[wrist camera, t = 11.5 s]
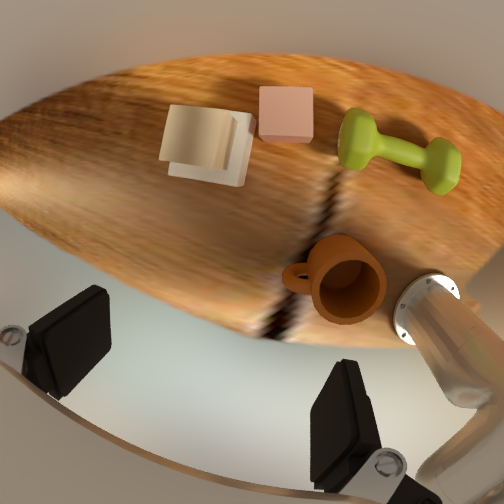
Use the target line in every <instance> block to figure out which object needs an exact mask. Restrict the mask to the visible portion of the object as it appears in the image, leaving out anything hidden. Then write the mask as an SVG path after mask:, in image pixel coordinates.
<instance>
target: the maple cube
mask: <svg viewBox="0 0 504 504" xmlns="http://www.w3.org/2000/svg"><path fill="white" fill-rule="evenodd" d="M237 124H238V121H237V120H236V119H235V118H234V117H233V116H232V115H231V114H230V113H229V112H228V111H227V110H223V109H215V108H206V107H196V106H184V105H170V109H169V113H168V117H167V121H166V126H165V130H164V135H163V140H162V144H161V149H160V155H159V160H162V161H169V162H176V163H182V164H188V165H194V166H200V167H206V168H211V169H220V170H227V169H228V164H229V159H230V155H231V150H232V146H233V141H234V137H235V132H236V128H237Z"/></svg>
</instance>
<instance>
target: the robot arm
mask: <svg viewBox="0 0 504 504" xmlns="http://www.w3.org/2000/svg"><path fill="white" fill-rule="evenodd" d="M109 301H110V299H109V294H108V293H107V291H106V289H104V288H102V287H100V286H97V285H92V286H90V287H89V288H87V289H85V290H84V291H82V292H80V293H79V294H77V295H76V296H74V297H73V298H71V299H69V300H68V301H66V302H65V303H63V304H62V305H60V306H59V307H57V308H55V309H54V310H52V311H51V312H50V313H48V314H46V315H45V316H43V317H42V318H40V319H39V320H37V321H36V322H35V323H33V324H32V325H30V326H29V333H26V331H25V330H24V329H23V328H22V327H20V326H17V325H8V326H5V327H3V328H2V329H0V504H504V341H503V340H502V339H501V338H500V337H499V336H498V335H497V334H496V333H495V332H494V331H493V330H492V329H491V328H490V327H489V326H488V325H487V324H486V323H485V322H484V321H483V320H482V319H481V318H480V317H478V316H477V315H476V314H475V313H474V312H473V311H472V310H471V309H470V308H469V307H468V306H466V305H465V304H464V303H463V302H462V301H461V300H460V299H459V293H458V289H457V286H456V285H455V283H454V282H453V281H452V280H451V279H450V278H449V277H447V276H446V275H443V274H440V273H430V274H426V275H423V276H421V277H419V278H417V279H416V280H414V281H413V282H412V283H411V284H410V285H408V287H407V288H406V289H405V290H404V291H403V293H402V294H401V296H400V297H399V299H398V301H397V303H396V306H395V309H394V315H393V324H394V328H395V330H396V332H397V334H398V336H399V337H400V338H401V339H402V340H403V341H404V342H406V343H408V344H412V345H416V347H417V348H418V350H419V351H420V353H421V355H422V356H423V358H424V359H425V361H426V363H427V365H428V366H429V368H430V370H431V371H432V373H433V375H434V377H435V378H436V381H437V382H438V384H439V386H440V387H441V389H442V391H443V393H444V395H445V396H446V398H447V399H448V400H449V401H450V402H451V403H452V404H454V405H455V406H458V407H461V408H470V409H477V412H476V413H475V415H474V416H473V417H472V418H471V419H470V420H469V422H467V423H466V425H465V426H464V427H463V428H462V429H461V430H460V431H458V432H457V433H456V434H455V435H454V436H453V437H452V438H451V439H450V440H449V441H447V442H446V443H445V444H444V445H442V446H441V447H440V448H439V449H438V450H437V451H435V452H434V453H433V454H432V455H431V456H430V457H428V458H427V459H426V460H425V461H424V463H423V464H422V465H421V466H420V468H419V469H418V471H417V473H416V476H415V480H414V479H412V478H411V477H409V476H408V475H406V474H405V473H406V471H407V462H406V460H405V458H404V457H403V455H402V454H401V453H400V452H398V451H397V450H394V449H391V448H382V446H381V441H380V437H379V433H378V429H377V424H376V420H375V416H374V412H373V408H372V405H371V401H370V398H369V396H367V395H366V390H365V386H364V383H363V379H362V376H361V372H360V368H359V365H358V362H357V361H353V360H348V359H342V360H341V362H336V364H335V365H334V367H333V369H332V371H331V373H330V375H329V377H328V379H327V381H326V383H325V385H324V386H323V388H322V390H321V392H320V394H319V395H318V397H317V399H316V401H315V402H314V404H313V406H312V408H311V412H310V438H311V439H310V444H311V445H310V454H311V455H310V456H311V458H310V481H311V482H314V489H319V490H324V493H323V492H313V491H303V490H294V489H286V488H279V487H272V486H266V485H260V484H255V483H250V482H244V481H239V480H235V479H231V478H227V477H223V476H218V475H215V474H211V473H208V472H204V471H201V470H197V469H195V468H192V467H188V466H185V465H182V464H179V463H177V462H174V461H171V460H168V459H166V458H163V457H161V456H158V455H156V454H153V453H151V452H148V451H146V450H144V449H141V448H139V447H137V446H135V445H133V444H130V443H128V442H126V441H124V440H122V439H120V438H118V437H116V436H114V435H112V434H110V433H108V432H107V431H105V430H103V429H101V428H99V427H97V426H96V425H94V424H92V423H90V422H89V421H87V420H85V419H83V418H82V417H80V416H79V415H77V414H76V413H74V412H72V411H71V410H69V409H68V408H66V407H65V406H63V405H62V404H60V403H59V402H57V401H56V400H55V399H57V400H58V401H59V400H60V399H61V398H62V397H63V396H64V397H65V396H67V395H68V394H69V393H70V392H71V391H72V390H73V388H75V387H76V385H77V384H78V383H79V382H80V381H81V380H82V379H83V378H84V377H85V376H86V375H87V374H88V373H89V372H90V370H92V369H93V368H94V366H95V365H96V364H97V363H98V362H99V361H100V360H101V359H102V358H103V357H104V356H105V355H106V354H107V353H108V352H109V351H110V349H111V344H112V343H111V328H110V302H109ZM48 392H49V394H50V395H51V396H52V397H54V398H55V399H53V398H52V397H50V396H49V395H47V393H48Z"/></svg>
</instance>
